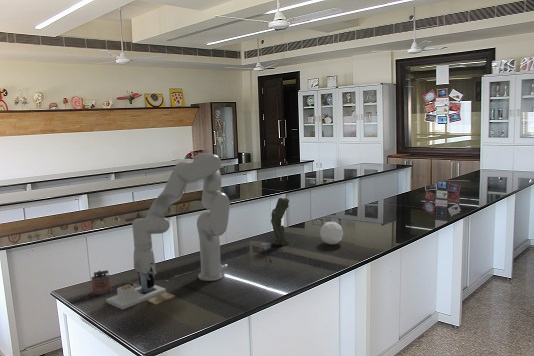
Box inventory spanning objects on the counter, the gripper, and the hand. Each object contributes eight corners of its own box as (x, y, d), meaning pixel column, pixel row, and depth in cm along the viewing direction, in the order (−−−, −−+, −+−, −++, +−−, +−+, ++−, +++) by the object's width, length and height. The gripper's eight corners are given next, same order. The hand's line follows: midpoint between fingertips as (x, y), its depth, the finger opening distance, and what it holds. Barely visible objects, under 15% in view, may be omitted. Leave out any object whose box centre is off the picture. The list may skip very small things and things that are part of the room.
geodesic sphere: (310, 235, 263) (323, 218, 257) (319, 229, 275) (332, 213, 269) (329, 252, 259) (343, 235, 253) (337, 245, 271) (350, 229, 265)
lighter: (92, 294, 200) (90, 273, 199) (93, 292, 204) (91, 270, 202) (111, 292, 203) (109, 271, 201) (111, 289, 206) (109, 268, 204)
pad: (166, 293, 199) (166, 292, 199) (175, 296, 195) (174, 295, 195) (147, 301, 192) (147, 299, 192) (156, 304, 188) (155, 303, 188)
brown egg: (127, 294, 194) (126, 284, 194) (131, 296, 192) (130, 286, 192) (121, 296, 192) (121, 286, 191) (125, 298, 190) (124, 288, 190)
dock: (149, 286, 209) (148, 273, 208) (166, 291, 201) (165, 279, 200) (106, 302, 192) (105, 289, 191) (122, 309, 184) (121, 295, 183)
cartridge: (148, 286, 204) (146, 267, 202) (155, 289, 200) (153, 269, 199) (139, 290, 200) (137, 271, 198) (146, 292, 197) (144, 273, 195)
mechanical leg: (272, 247, 257) (280, 198, 258) (264, 245, 263) (272, 196, 263) (289, 248, 266) (296, 200, 266) (281, 245, 271) (288, 198, 271)
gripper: (124, 245, 200) (128, 284, 202) (147, 252, 189) (151, 293, 192) (139, 241, 205) (142, 279, 208) (162, 247, 195) (165, 287, 197)
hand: (146, 285), depth 200 cm, fingers closed on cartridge, 4 cm apart
